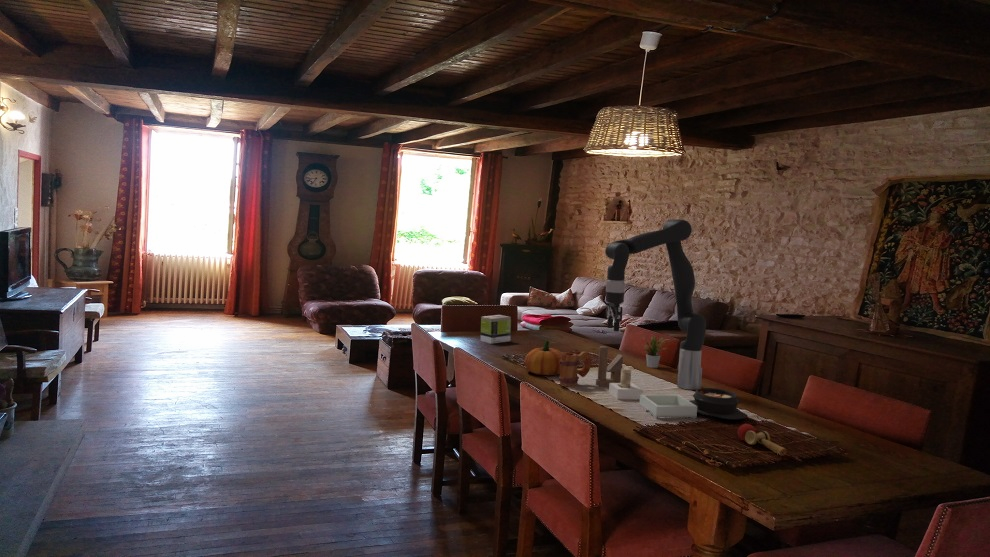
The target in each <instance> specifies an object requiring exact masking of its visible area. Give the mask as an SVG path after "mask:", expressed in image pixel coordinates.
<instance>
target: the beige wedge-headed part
mask: <svg viewBox="0 0 990 557" xmlns="http://www.w3.org/2000/svg"><path fill="white" fill-rule="evenodd" d="M608 353H609V347H608V346H604V345H600V346H599V350H598V368H597V378H596V379H595V386H597V387H599V388H601V387H604V388H605V387H609V383H620V382H621V369H622V368H623V360H624V356H623V354H619V353H618V354H617V355H616V356H615V358H614V359H613V360H612V361H610V363H609V364H608V355H609V354H608ZM607 373H610V378H607Z"/></svg>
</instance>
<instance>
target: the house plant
mask: <svg viewBox="0 0 990 557" xmlns="http://www.w3.org/2000/svg"><path fill="white" fill-rule="evenodd" d="M642 339H643V340H644V341H645V343H646V344H647V345H646V344H644V346H645V347H643V349H644V350H645V351H647V353H646V354H645V356H646V358H645V359H646V367H647V368H652V369H657V368H658V367H659V363H660V359H661V354H659V353H660V352H661V351H663V350H664V351H666V350H667V348H665V347H660V346H663V344H665V343H668V342H666V341H668V340H670V339H669V338H667V339H664V337H661V338H660V339H658V341H657V338H656V335H655V334H653V336H651V337H650V340H651V341H650V344H649V342H648V341H647V339H645V338H644V337H642Z"/></svg>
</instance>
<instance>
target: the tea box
mask: <svg viewBox="0 0 990 557" xmlns="http://www.w3.org/2000/svg"><path fill="white" fill-rule="evenodd" d="M511 326H512V317H511V316H509V315H507V316H506V315H502V314H494V315H487V316H486V315H484V316H481V317H480V342H483V343H486V344H489V345H491V344H492V345H493V344H499V343H507V342H511V337H512V336H511V335H512V334H511V331H512V329H511V328H512V327H511Z"/></svg>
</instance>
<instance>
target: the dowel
mask: <svg viewBox="0 0 990 557" xmlns="http://www.w3.org/2000/svg"><path fill="white" fill-rule="evenodd" d="M631 380H632V369H631V368H627V367H626V368H625V367H624V368H623V367H622V369H621V382H620V387H621V388H630V383H632V382H631Z"/></svg>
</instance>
